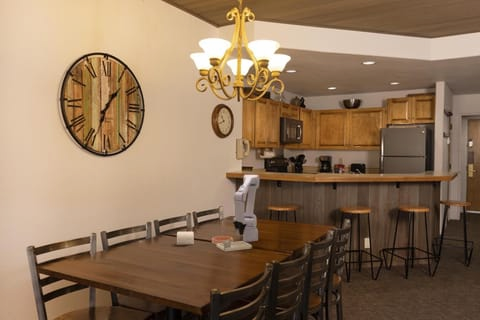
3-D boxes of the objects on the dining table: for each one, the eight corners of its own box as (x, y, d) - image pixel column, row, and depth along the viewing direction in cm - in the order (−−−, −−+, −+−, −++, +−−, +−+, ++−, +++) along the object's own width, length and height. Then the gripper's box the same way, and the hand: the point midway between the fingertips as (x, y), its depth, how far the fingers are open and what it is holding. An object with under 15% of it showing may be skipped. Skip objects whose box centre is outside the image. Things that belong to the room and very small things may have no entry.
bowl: (227, 240, 254) (227, 235, 254) (235, 245, 242) (235, 239, 242) (209, 242, 248) (209, 237, 248) (216, 247, 237) (216, 241, 237)
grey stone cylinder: (241, 234, 238) (241, 227, 238) (244, 235, 234) (244, 229, 234) (235, 234, 236) (235, 228, 236) (237, 236, 232) (237, 229, 232)
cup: (193, 242, 237) (176, 243, 236) (193, 248, 248) (177, 248, 247) (193, 229, 241) (177, 230, 240) (193, 235, 252) (178, 235, 251)
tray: (243, 244, 242) (243, 240, 242) (252, 249, 230) (252, 245, 230) (216, 247, 235) (216, 243, 235) (224, 252, 223) (224, 248, 223)
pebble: (229, 246, 234) (229, 240, 234) (231, 248, 230) (231, 241, 230) (222, 247, 232) (222, 241, 232) (225, 249, 228) (225, 242, 228)
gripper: (229, 210, 240) (229, 232, 240) (238, 213, 227) (238, 236, 227) (239, 209, 243) (239, 231, 243) (249, 213, 230) (249, 235, 230)
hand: (239, 234), depth 235 cm, fingers closed on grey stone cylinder, 4 cm apart
